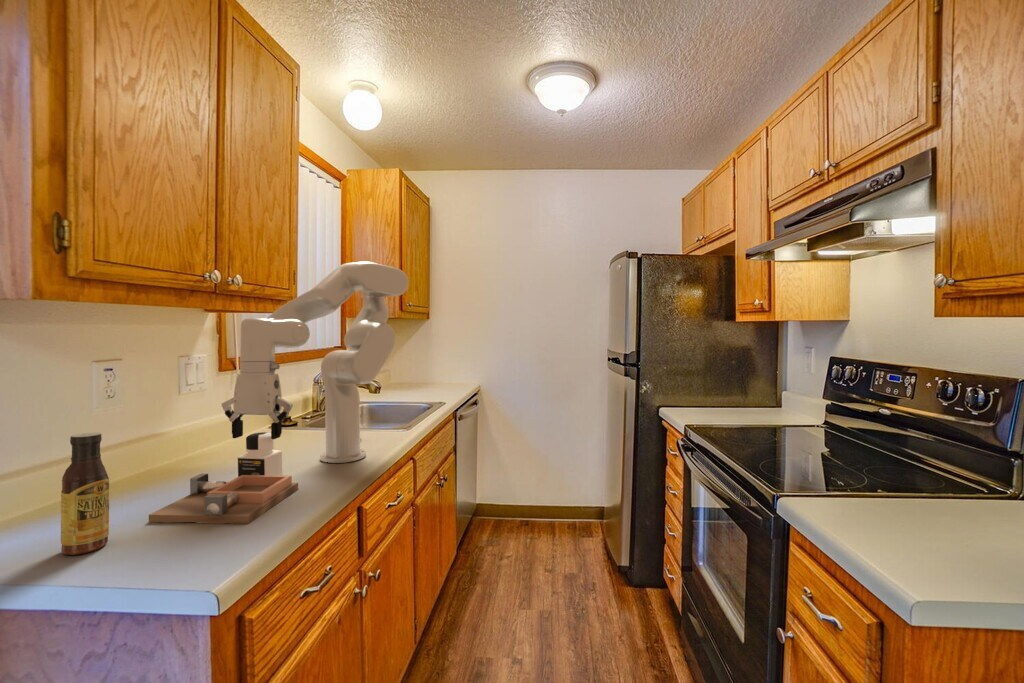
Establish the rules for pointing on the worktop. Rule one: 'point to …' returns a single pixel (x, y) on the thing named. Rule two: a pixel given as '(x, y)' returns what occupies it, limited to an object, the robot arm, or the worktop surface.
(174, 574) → the worktop surface
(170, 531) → the worktop surface
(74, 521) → the sauce bottle
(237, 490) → the square clamping fixture
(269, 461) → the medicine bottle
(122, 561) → the worktop surface
